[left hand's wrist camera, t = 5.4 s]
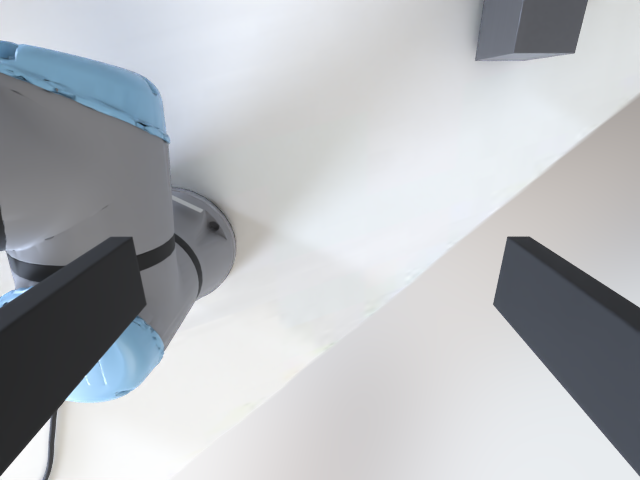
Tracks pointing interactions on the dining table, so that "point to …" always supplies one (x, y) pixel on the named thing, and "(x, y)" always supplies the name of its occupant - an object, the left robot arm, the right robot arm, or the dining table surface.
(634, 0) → the dining table surface
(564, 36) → the bar
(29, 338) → the left robot arm
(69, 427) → the dining table surface
